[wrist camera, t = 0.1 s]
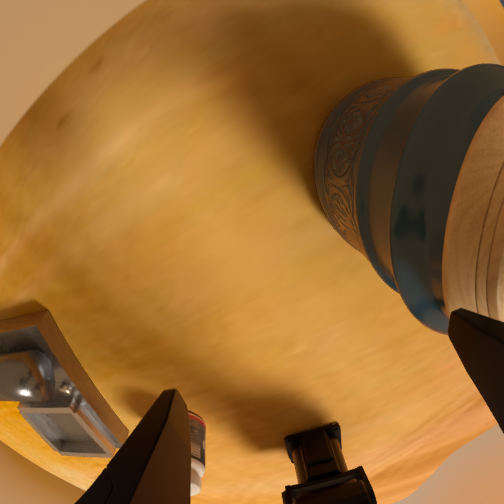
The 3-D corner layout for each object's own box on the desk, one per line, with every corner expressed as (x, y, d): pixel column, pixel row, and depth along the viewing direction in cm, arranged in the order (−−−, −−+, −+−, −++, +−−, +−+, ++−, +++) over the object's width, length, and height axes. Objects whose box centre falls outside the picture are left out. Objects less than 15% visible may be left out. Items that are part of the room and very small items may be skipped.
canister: (476, 154, 22) (650, 220, 5) (398, 275, 25) (532, 428, 9) (370, 45, 18) (585, -15, 2) (271, 190, 22) (395, 381, 5)
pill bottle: (195, 439, 31) (194, 501, 24) (156, 427, 30) (147, 490, 23) (213, 418, 30) (213, 486, 22) (170, 404, 29) (161, 473, 21)
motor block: (128, 431, 30) (119, 480, 24) (61, 431, 31) (46, 473, 24) (48, 309, 24) (13, 358, 17) (-17, 325, 24) (-50, 364, 18)
